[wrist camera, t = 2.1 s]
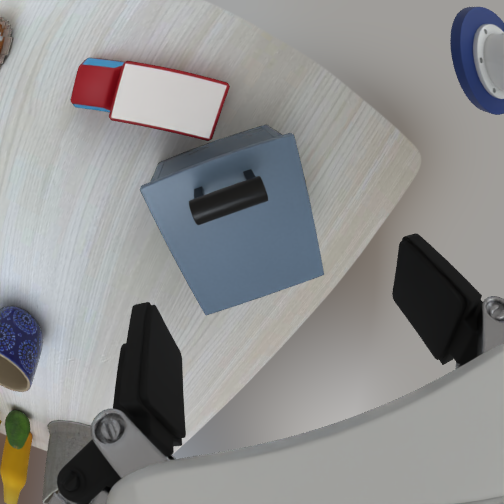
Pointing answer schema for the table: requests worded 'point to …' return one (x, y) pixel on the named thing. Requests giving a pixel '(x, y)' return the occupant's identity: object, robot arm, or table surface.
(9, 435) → the avocado
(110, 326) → the table surface
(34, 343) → the planter
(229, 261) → the lid
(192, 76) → the toy truck
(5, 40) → the candy apple
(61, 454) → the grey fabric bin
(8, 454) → the beer bottle
